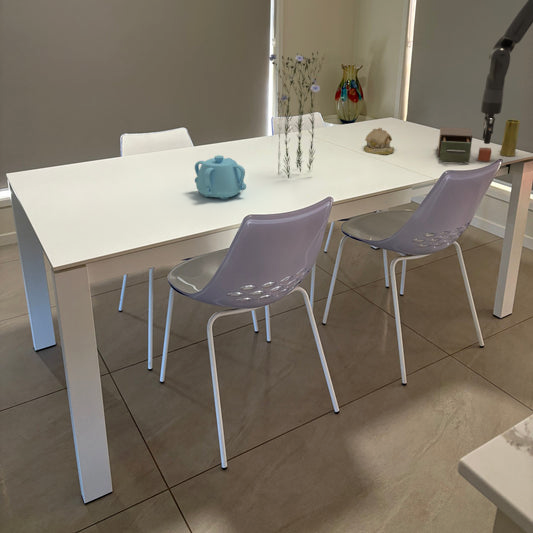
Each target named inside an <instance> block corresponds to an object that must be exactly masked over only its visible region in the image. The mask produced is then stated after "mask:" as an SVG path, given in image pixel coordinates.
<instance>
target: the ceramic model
mask: <svg viewBox="0 0 533 533" xmlns="http://www.w3.org/2000/svg"><path fill="white" fill-rule="evenodd" d="M364 141H365V142H366V145H364V146H363V151H364V152H365V153H369V152H370V154H376V155H390V154H393V153H394V151H395V147H394V146H391V142H392V141H393V138H392V135H391V134H390V133H389V132H387V130H385V129H383V127H378V128H372V130H371V131H370V132H369V133H368V134H367V135H366V136H365V139H364Z"/></svg>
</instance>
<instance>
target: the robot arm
mask: <svg viewBox="0 0 533 533" xmlns="http://www.w3.org/2000/svg"><path fill="white" fill-rule="evenodd" d="M532 26H533V0H527V1H526V2H525V3H524V5H523V6H522V7H521V8H520V9H519V11H518V12H517V13H516V14H515V16H514V17H513V19H512V20H511V22H510V23H509V24H508V26H507V28H506V29H505V31H504V33H503V34H502V36H500V38H499V39H498V40H497V42H496V43H495V44H494V45H493V47H492V49H491V50H490V52H489V55H488V60H489V62H490V66H489V70H488V71H489V72H488V73H487V76H486V80H485V86H484V90H483V95H482V101H481V108H480V112H481V113H482V114H485V115H484V116H483V124H482V125H483V132H482V139H483V140H484V141H483V143H484V144H485V145H490V144H491V138H492V135H493V134H494V128H495V122H496V117H495V115H499V114H501V113H502V107H503V103H504V102H503V101H504V97H505V96H504V95H505V86H506V78H507V74H508V71H509V68H510V64H511V59H512V55H511V53H512V52H513V51H514V49H515V48H516V46H517V45H519V44H520V43H521V42H522V41H523V39H524V38H525V36H526V35H527V33H528V32H529V31H530V29H531V27H532Z"/></svg>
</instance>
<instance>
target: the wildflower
mask: <svg viewBox="0 0 533 533" xmlns="http://www.w3.org/2000/svg"><path fill="white" fill-rule="evenodd" d="M318 54H319V51H316V55H318ZM311 56H314V52H311ZM325 56H326V53H324V55H323V57H321V60H322V61H321V63H320V62H319V63H318V64H316V63H315V62H317V61H318V59H316V57H312V61H311V59H310V58H309V57H305V56H304V55H303V54H300V55H299V53H298V52H297V53H296V56H295V63H293V62H294V59H293V57H287V62H284V58H285V57H284V55H281V59H282V63H283V67H285V69H287V70H288V71H290V69H291V72H290V74H288V77H287V76H286V70H284V69H281V68H278V69H277V67H278V63H277V62H276V61H275V60H276V59H277V54H274V53H273V54H270V56H269V57H268V60H270V62H271V64H272V65H273V66H274V67H275V69H277V75H278V76H279V78H280V79H281V80H282V83H283V88H284V89H285V91H286V92H287V93H288V95H289V97H288V95H287V94H283V93H282V94H281V97H277V99H276V100H277V106H280V108H279V107H276V108H277V110H278V114H277V115H278V119H277V120H278V121H280V120H283V118H284V120H285V122H286V124H284V136H285V139H288V134H289V133H290V131H291V130H292V128H290V126H292V123H290V122H291V121H292V118H293V116H291V114H292V112H290V101H291V99H292V98H291V96H290V92H291V89H288V85H287V84H286V82H285V81H284V80H289V87H291V86H292V85H293V88H294V93H295V94H296V96H297V100H298V103H299V109H298V113H297V114H298V116H299V118H298V119H297V121H298V122H297V121H295V123H296V124H297V125H295V127H296V128H297V130H298V133H299V134H300V135H299V134H296V137H297V138H298V141H301V140H302V135H303V133H301V132H302V124H303V123H302V122H303V116H304V113H305V111H304V110H303V108H304V106H305V104H303V103H305V102H306V101H307V99H308V94H310V108H309V109H307V111H308V114H309V115H310V116H311V118H310V117H308V119H309V121H310V124H311V128H312V129H311V130H312V131H310V129H307V130H308V133H309V134H310V135H311V140H309V141H310V149H309V151H308V152H309V153H308V155H309V157H310V158H309V159H308V163H306V165H307V168H308V171H311V169H313V167H314V166H312V165H313V164H314V162H313V161H314V159H315V157H314V155H315V152H316V150H315V147H313V142H314V135H315V133H314V128H315V119H316V118H315V117H314V116H315V110H313V111H312V109H314V104H313V102H315V97H316V94H315V93H318V92H321V86H319V85H318V82H317V78H313V77H312V76H310V74H312V72H313V76H315V74H316V72H315V71H316V70H317V67H318V66H319V64H320V67H319V68H318V71H317V74H316V76H315V77H318V73H320V71H321V70H322V69H323V68H322V66H323V61H324V60H325ZM289 61H291V64H292V65H290V67H289ZM303 61H304V63H303ZM313 64H314V67H312V68H310V71H309V66H313ZM285 65H286V66H285ZM299 65H300V66H301V67H300V66H299ZM300 68H301V69H300ZM281 71H282V74H283V75H284V79H283V76H281ZM302 71H304V72H307V78H308V80H309V81H310V82H307V78H306V77H305V76H306V73H303V72H302ZM292 72H293V73H292ZM297 72H298V73H299V74H300V75H298V74H297ZM292 74H293V75H292ZM291 75H292V76H291ZM294 77H296V78H297V79H298V80H297V84H298V86H299V89H300V90H298V92H297V88H298V87H297V86H295V80H294ZM301 78H302V79H301ZM303 89H305V90H307V91H304V94H303ZM298 93H299V95H298ZM306 93H307V94H306ZM276 96H279V92H276ZM302 98H303V103H302V100H301V99H302ZM286 101H287V103H286ZM282 105H283V108H282ZM285 105H286V112H285ZM281 108H282V113H284V112H285V113H284V115H285V116H284V115H281ZM289 112H290V114H289ZM280 125H282V122H280ZM280 125H277V126H278V130H279V131H278V133H277V135H278V140H279V141H278V154H277V156H278V157H277V158H278V162H281V158H280V157H281V152H280V150H281V149H280V148H281V146H280V142H281V141H280V137H281V130H282V128H280ZM290 140H291V138H289V139H288V140H283V141H284V144H285V155H286V156H285V155H283V156H284V158H283V162H284V164H285V165H284V164H283V167H284V169H285V171H286V172H285V174H286V175H287V179H289V178H290V174H291V172H290V170H291V167H290V166H291V165H289V163H290V162H291V160H290V157H289V152H288V151H289V148H290V147H288V142H290ZM297 145H298V146H297V148H296V159H297V160H296V161H295V164H296V168H297V169H299V173H301V172H302V163H303V162H304V160H302V159H303V157H302V156H303V152H304V151H302V150H301V142H297ZM281 166H282V164H281V163H278V166H277V167H278V168H277V170H278V172H277V173H278V175H280V171H281V170H282V171H284V169H283V168H282V169H281V168H280V167H281ZM311 166H312V167H311ZM280 169H281V170H280Z"/></svg>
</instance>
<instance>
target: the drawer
mask: <svg viewBox="0 0 533 533" xmlns="http://www.w3.org/2000/svg"><path fill="white" fill-rule="evenodd" d="M471 150H472V143H471V142H469V138H464V137H443V141H442V143H441V151H440V157H439V161H440V162H452V163H453V162H454V163H455V162H456V163H470V157H471Z"/></svg>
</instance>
